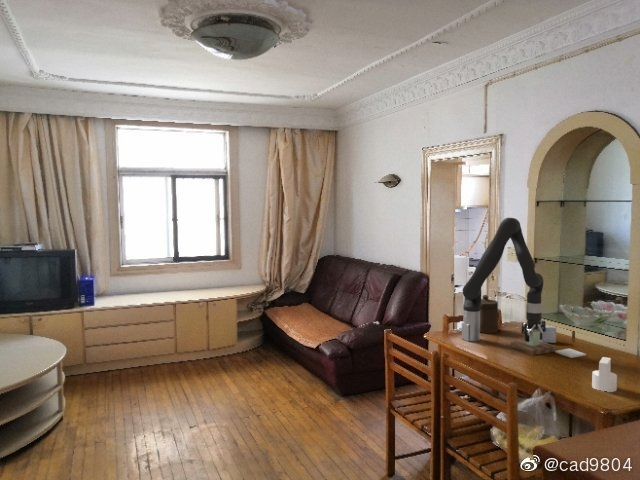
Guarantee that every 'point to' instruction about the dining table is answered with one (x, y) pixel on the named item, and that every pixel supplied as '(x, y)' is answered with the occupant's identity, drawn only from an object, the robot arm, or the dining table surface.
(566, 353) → the tile
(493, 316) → the wooden container
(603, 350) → the dining table surface
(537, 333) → the green block
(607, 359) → the cylinder with rectangular tab
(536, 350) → the pocket board
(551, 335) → the medicine box
